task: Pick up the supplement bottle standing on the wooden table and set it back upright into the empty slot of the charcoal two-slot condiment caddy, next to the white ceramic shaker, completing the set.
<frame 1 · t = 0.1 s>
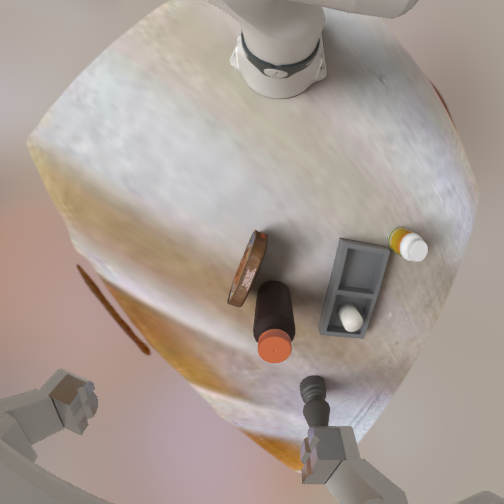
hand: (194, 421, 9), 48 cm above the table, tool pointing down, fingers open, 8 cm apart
caddy: (351, 287, 57), on the table
supplement bottle: (397, 238, 54), on the table
tin: (248, 262, 58), on the table
vinegar: (273, 294, 59), on the table
shaker: (346, 309, 58), point 1 cm above the table, touching caddy
candle holder: (312, 384, 65), on the table
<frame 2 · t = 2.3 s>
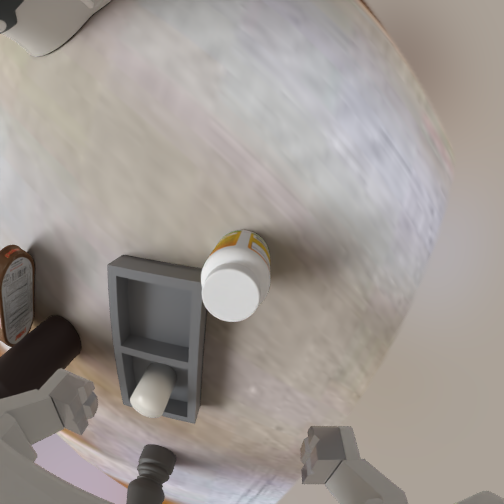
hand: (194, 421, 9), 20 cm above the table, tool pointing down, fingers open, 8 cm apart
caddy: (163, 341, 32), on the table
supplement bottle: (242, 255, 29), on the table
tin: (31, 288, 32), on the table
vinegar: (64, 334, 33), on the table
shaker: (161, 374, 32), point 1 cm above the table, touching caddy
candle holder: (160, 453, 39), on the table
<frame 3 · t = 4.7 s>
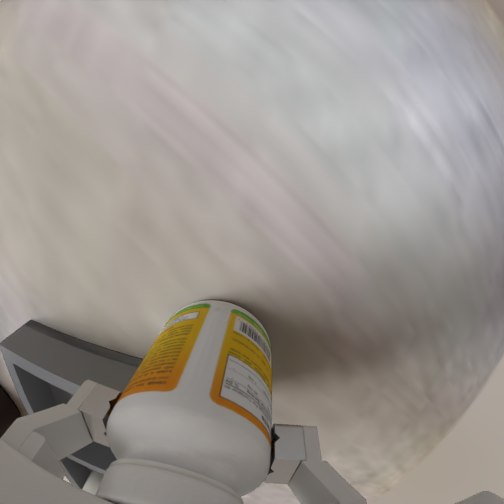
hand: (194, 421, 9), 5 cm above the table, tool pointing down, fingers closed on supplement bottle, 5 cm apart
caddy: (109, 437, 17), on the table
supplement bottle: (217, 343, 14), on the table, touching gripper
vinegar: (2, 397, 18), on the table
shaker: (117, 470, 17), point 1 cm above the table, touching caddy
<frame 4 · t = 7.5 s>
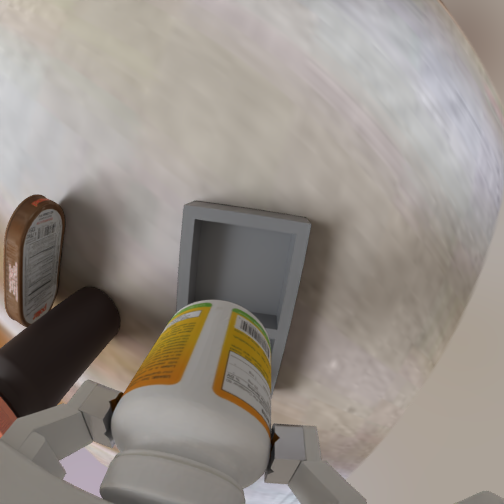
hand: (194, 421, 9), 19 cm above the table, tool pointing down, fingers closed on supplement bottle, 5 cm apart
caddy: (235, 310, 28), on the table
supplement bottle: (218, 342, 14), point 13 cm above the table, touching gripper
tin: (56, 254, 28), on the table
vinegar: (97, 311, 29), on the table
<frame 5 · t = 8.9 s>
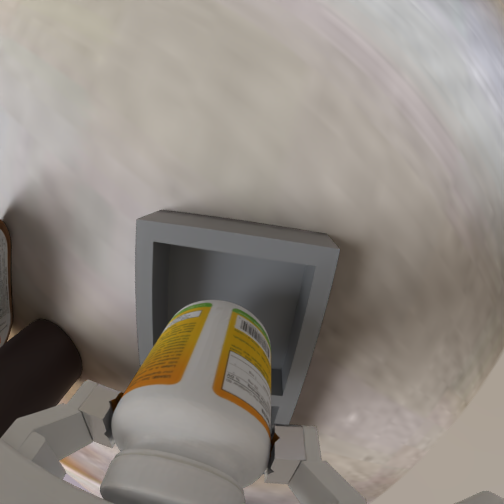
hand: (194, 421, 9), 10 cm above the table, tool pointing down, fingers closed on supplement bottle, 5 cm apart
caddy: (224, 360, 19), on the table
supplement bottle: (218, 342, 14), point 4 cm above the table, touching gripper
tin: (7, 277, 20), on the table
vinegar: (57, 348, 21), on the table
when the fingers open (7 cm above the table, at t = 10.3 s): supplement bottle stays where it is, resting on caddy.
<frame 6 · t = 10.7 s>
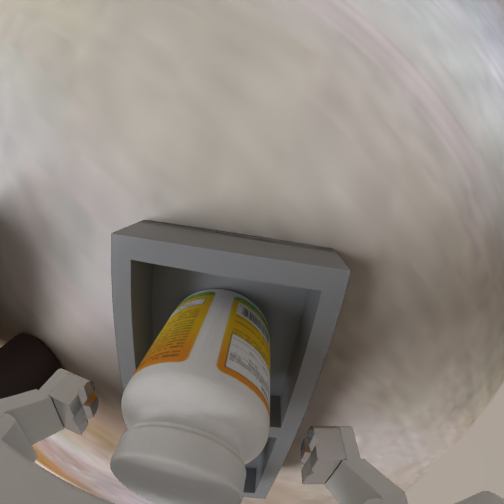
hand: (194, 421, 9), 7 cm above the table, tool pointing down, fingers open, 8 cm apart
caddy: (217, 384, 17), on the table
supplement bottle: (220, 330, 15), point 1 cm above the table, touching caddy
vinegar: (42, 363, 19), on the table
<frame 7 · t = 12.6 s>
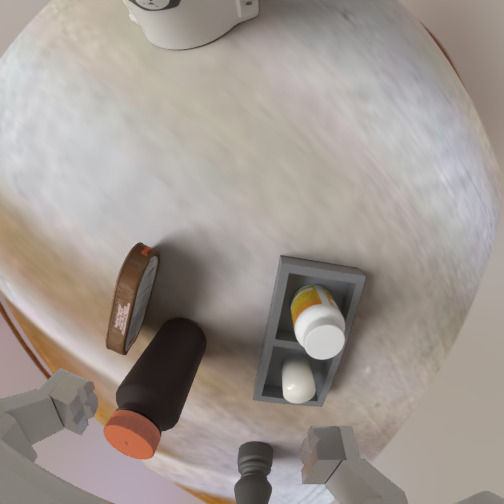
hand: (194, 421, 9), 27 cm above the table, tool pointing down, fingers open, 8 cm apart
caddy: (303, 333, 37), on the table
supplement bottle: (311, 303, 35), point 1 cm above the table, touching caddy
tin: (145, 290, 37), on the table
vinegar: (183, 337, 38), on the table
shaker: (295, 364, 37), point 1 cm above the table, touching caddy
candle holder: (255, 450, 43), on the table
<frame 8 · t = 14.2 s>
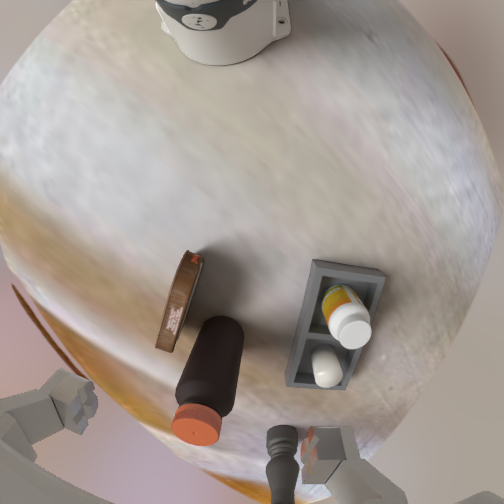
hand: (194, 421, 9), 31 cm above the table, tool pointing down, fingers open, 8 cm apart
caddy: (329, 326, 42), on the table
supplement bottle: (338, 300, 40), point 1 cm above the table, touching caddy
tin: (187, 292, 42), on the table
vinegar: (222, 333, 43), on the table
shaker: (322, 353, 42), point 1 cm above the table, touching caddy
candle holder: (281, 433, 49), on the table
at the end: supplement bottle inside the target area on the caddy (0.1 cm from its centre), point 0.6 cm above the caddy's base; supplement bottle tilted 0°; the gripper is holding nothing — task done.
